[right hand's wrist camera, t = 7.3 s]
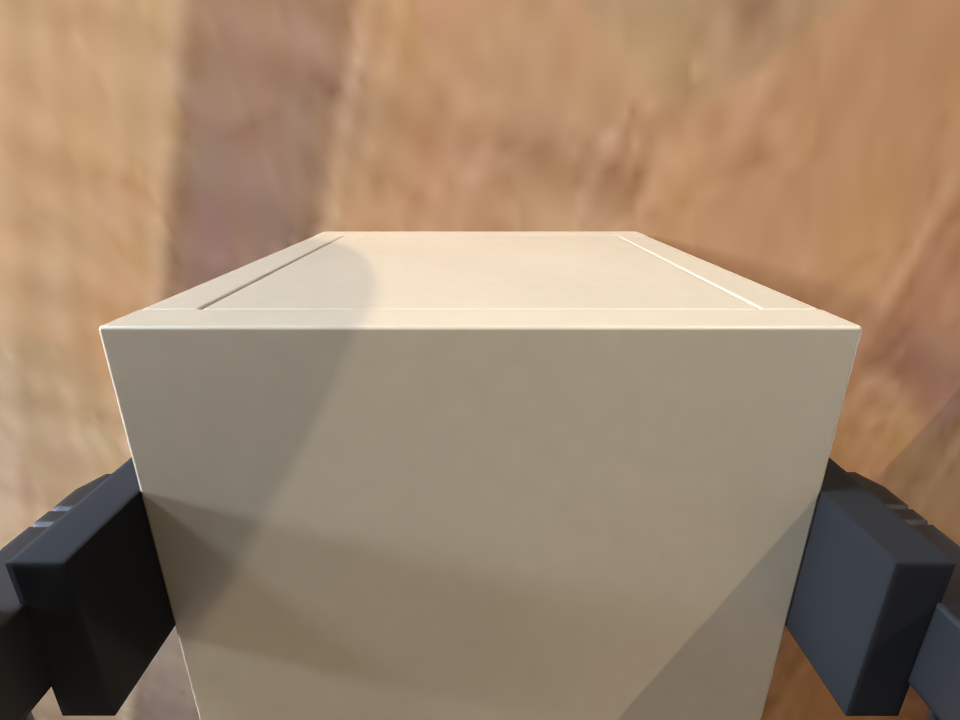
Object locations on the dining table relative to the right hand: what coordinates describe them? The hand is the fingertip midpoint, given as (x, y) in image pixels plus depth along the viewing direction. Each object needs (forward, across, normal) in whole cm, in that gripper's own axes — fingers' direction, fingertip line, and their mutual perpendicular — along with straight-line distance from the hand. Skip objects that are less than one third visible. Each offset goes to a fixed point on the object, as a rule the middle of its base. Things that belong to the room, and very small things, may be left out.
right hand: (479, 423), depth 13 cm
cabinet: (+6, 0, -7) cm, 9 cm away
